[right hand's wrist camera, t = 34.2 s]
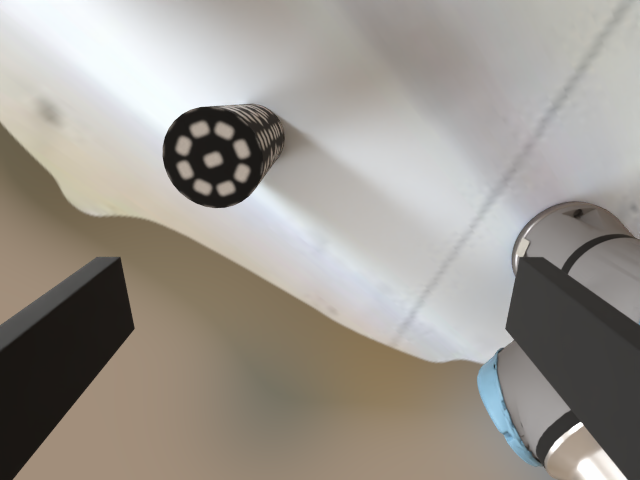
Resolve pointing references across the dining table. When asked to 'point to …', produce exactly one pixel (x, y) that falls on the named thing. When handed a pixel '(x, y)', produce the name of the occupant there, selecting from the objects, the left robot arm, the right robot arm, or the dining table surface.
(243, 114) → the black white spotted cylinder
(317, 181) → the dining table surface
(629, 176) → the dining table surface
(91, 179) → the dining table surface
